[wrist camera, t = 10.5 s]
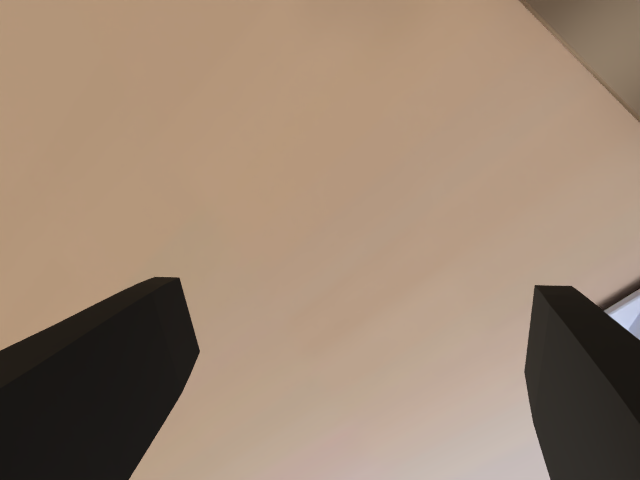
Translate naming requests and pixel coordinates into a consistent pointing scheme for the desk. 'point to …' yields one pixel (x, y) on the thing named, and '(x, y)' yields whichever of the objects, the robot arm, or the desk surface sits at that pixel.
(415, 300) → the desk surface
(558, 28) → the tan board
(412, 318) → the desk surface
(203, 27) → the desk surface
